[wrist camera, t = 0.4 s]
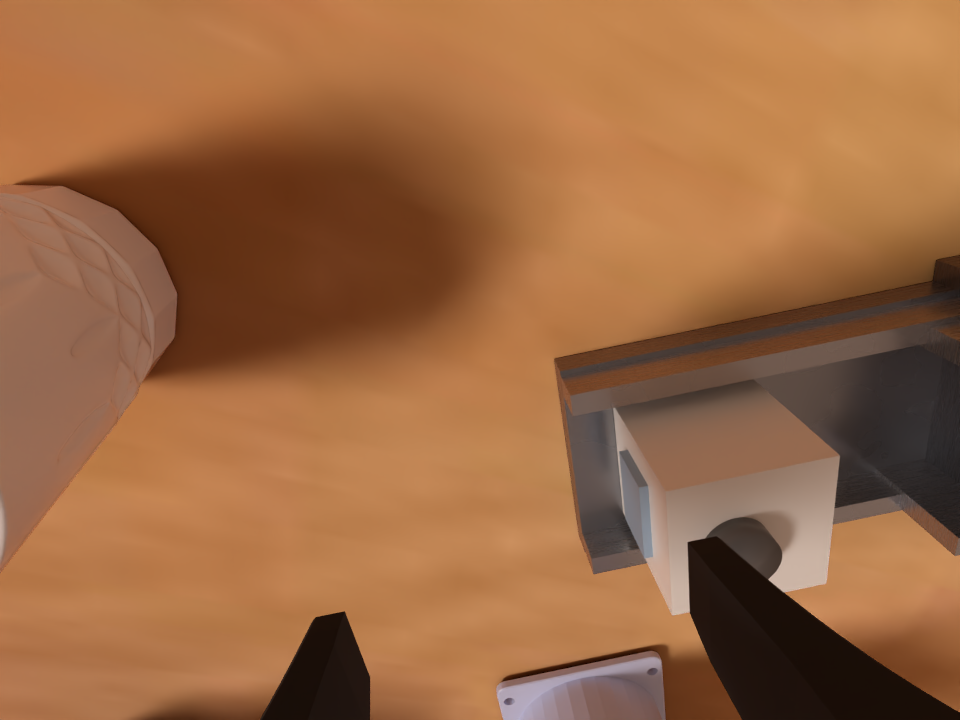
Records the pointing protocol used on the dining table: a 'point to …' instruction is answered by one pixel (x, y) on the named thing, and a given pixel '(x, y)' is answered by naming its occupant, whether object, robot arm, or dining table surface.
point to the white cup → (69, 340)
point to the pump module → (726, 485)
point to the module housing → (795, 403)
